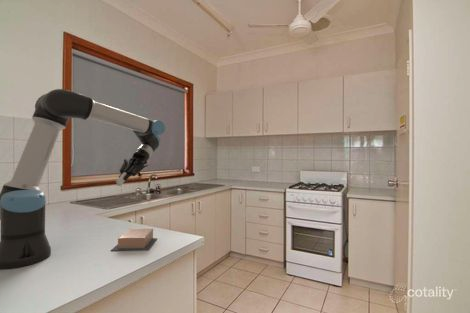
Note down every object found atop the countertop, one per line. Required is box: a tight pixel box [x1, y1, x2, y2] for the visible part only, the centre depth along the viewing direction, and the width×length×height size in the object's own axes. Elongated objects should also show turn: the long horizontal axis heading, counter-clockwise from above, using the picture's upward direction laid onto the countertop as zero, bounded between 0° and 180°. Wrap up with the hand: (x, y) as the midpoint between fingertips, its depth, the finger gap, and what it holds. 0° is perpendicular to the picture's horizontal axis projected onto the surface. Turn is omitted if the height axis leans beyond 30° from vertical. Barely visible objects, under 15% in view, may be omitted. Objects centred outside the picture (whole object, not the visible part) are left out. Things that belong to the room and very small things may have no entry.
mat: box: [110, 237, 158, 252], centre depth 97 cm, size 13×14×1 cm
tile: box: [117, 228, 154, 249], centre depth 99 cm, size 4×10×12 cm
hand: (118, 183), depth 110 cm, fingers closed
